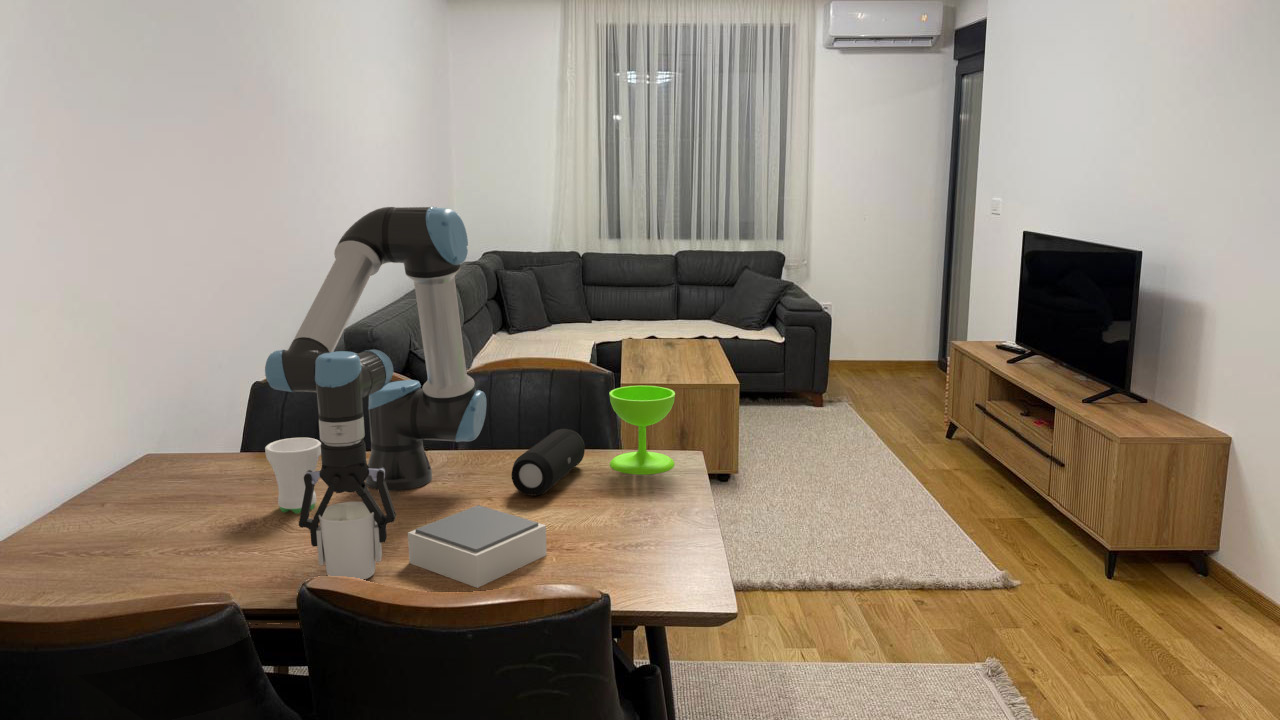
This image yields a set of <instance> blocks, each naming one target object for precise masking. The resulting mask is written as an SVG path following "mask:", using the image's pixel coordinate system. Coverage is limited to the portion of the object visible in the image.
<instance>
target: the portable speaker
mask: <svg viewBox="0 0 1280 720" xmlns="http://www.w3.org/2000/svg"><path fill="white" fill-rule="evenodd" d="M585 447H586V445H585V442H584V440H583V437H582V436H581V435H580V433H578V432H576V431H575V430H572V429H568V428H560V429H556V430H554V431H552V432H551V433H549V435H547V436H545V437H543V439H541V440H540V441H539V442H537V443H536V444H535V445H533V446H532V447H530V448H528V450H526V451H525V452H523V453H522V454H521V455H519V456H518V457H517V458H516V460H515V461H514V463H513V466H512V469H511V481H512V483H513V486H514V487H515V488H516V489H517V491H519V492H520V493H522V494H524V495H526V496H540V495H543V494H545V493H547V492H548V491H549V490H550V489H551V488H553V486H554V485H556V484H557V483H558V482H559V481H560V480H561V479H563V477H565V476H566V475H567V474H568V473H570V472H571V471H572V470H573V469H574V468H575V467H576V466H578V465H579V464H580V463H581V462H582V461H583V459H584V457H585V451H586V449H585Z"/></svg>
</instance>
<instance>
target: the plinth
mask: <svg viewBox="0 0 1280 720" xmlns="http://www.w3.org/2000/svg"><path fill="white" fill-rule="evenodd" d="M407 543H408V544H407V545H408V564H411V565H413V566H416V567H420V568H422V569H425V570H428V571H430V572H433V573H436V574H439V575H440V576H444V577H447V578H449V579H453V580H455V581H457V582H461V583H463V584H466V585H468V586H471V587H474V588H476V589H478V588H481V587H483V586H484V585H487V584H488V583H491V582H493V581H495V580H497V579H499V578H501V577H504V576H506V575H508V574H510V573H512V572H514V571H516V570H518V568H519V569H521V568H523V567H524V566H525V567H526V566H527V565H529V564H532V563H533V562H535V561H538V560H540V559H541V558H544V557H546V556H547V551H548V550H547V525H546V524H543V523H539V522H538V521H537V522H536V521H534V520H530V519H527V518H523V517H520V516H518V515H517V516H516V515H513V514H510V513H507V512H503V511H501V510H500V511H499V510H497V509H493V508H491V507H487V506H482V505H480V504H478V505H475V506H472V507H470V508H468V509H467V508H466V509H465V510H462V511H458V512H456V513H455V514H451V515H449V516H446V517H444V518H441V519H439V520H436V521H433V522H430V523H428V524H425V525H423V526H420V527H417V528H415V529H413V530H411V531H408V532H407Z"/></svg>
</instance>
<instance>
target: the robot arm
mask: <svg viewBox="0 0 1280 720" xmlns="http://www.w3.org/2000/svg"><path fill="white" fill-rule="evenodd" d="M468 246H469V242H468V233H467V230H466V227H465V223H464V221H463V219H462V218H461V216H460V215H459V214H458V213H457V212H456V211H455V210H453V209H451V208H445V207H437V206H427V207H426V206H421V207H417V206H413V207H409V206H408V207H407V206H406V207H399V206H397V207H394V206H387V207H381V208H377V209H374V210H372V211H370V212H368V213H367V214H365V215H363V216H361V217H360V218H359V219H358V220H357V221H356V222H354V223H353V224H352V225H351V226H349V228H348V229H346V231H345V232H344V233H343V235H342V236H341V237H340V239H339V241H338V243H337V245H336V247H335V249H334V259H335V260H334V262H333V263H332V266H331V268H330V270H329V271H328V274H327V276H325V279H324V281H323V282H322V285H321V287H320V289H319V291H318V292H317V294H316V297H315V298H314V300H313V302H312V303H311V305H310V308H309V309H308V311H307V313H306V316H305V317H304V319H303V320H302V323H301V324H300V327H299V329H298V331H297V333H296V334H295V336H294V338H293V340H292V342H291V343H290V345H289V347H288V349H281V350H274V351H273V352H272V353H270V354H269V355H268V357H267V359H266V362H265V367H264V376H265V380H266V381H267V382H268V385H269V386H270V388H272V389H273V390H277V391H283V392H290V393H296V392H297V393H300V392H301V393H316V398H317V399H316V401H317V409H318V410H317V412H318V430H319V441H320V442H321V455H320V457H321V468H320V470H315V472H312V471H311V470H308V471H307V472H306V474H305V475H304V483H305V492H304V498H303V503H302V509H301V512H300V513H299V514H300V516H299V521H298V526H299V528H306V529H309V532H310V544H311V546H312V547H317V555H318V557H317V559H318V566H324V564H325V557H324V549H323V542H322V535H321V528H320V520H319V515H320V516H321V517H322V516H323V513H324V511H325V509H326V507H328V506H329V503H330V501H331V499H332V497H333V495H334V493H336V494H342V493H344V492H346V493H356V495H357V496H358V497H359V498H360V499H361V502H364V504H365V505H366V507H367V509H368V510H369V512H370V513H372V512H374V519H375V527H374V538H375V563H380V562H381V560H382V557H383V553H382V551H383V550H382V543H386V541H387V539H388V534H387V530H388V529H387V525H389V524H390V523H391V524H392V523H393V524H394V522H395V521H396V517H397V512H396V510H395V507H394V503H393V500H392V497H391V495H390V491H405V490H412V489H416V488H419V487H422V486H425V485H427V484H429V483H430V482H431V481H432V479H433V473H432V472H433V471H432V466H431V465H430V462H429V459H428V457H427V454H426V452H425V449H424V448H425V447H424V441H425V440H427V441H428V440H429V441H443V442H444V441H446V442H447V441H448V442H456V443H459V442H472V441H474V440H476V439H477V438H478V437H479V435H480V433H481V431H482V429H483V427H484V423H485V419H486V414H487V397H486V394H485V392H484V391H481V390H479V389H477V390H476V384H475V383H476V382H475V380H474V378H472V377H471V376H470V375H469V374H467V367H466V359H465V357H466V356H465V349H464V344H463V343H464V342H463V333H462V326H461V318H460V310H459V303H458V301H459V300H458V294H457V287H456V279H455V278H456V275H457V274H458V273H459V272H460V270H461V268H462V267H461V264H463V263H464V262H465V261H466V259H467V258H468V257H467V255H468V251H469V250H468V249H469V248H468ZM389 263H393V264H403V266H404V271H405V272H404V273H405V275H406V277H408V278H409V279H410V280H412V281H413V284H414V292H415V298H416V304H417V311H418V312H417V313H418V318H419V326H420V332H421V341H422V347H423V348H422V349H423V353H424V361H425V367H426V374H427V375H426V376H427V380H426V382H424V384H423V385H421V383H420V381H419V380H416V379H406V380H396V381H392V378H393V376H394V366H393V362H392V360H391V358H390V357H389V356H388V355H387V354H386V353H385V352H383V351H381V350H379V349H368V350H367V349H366V350H363V351H361V352H358V353H357V352H353V351H346V350H345V351H343V350H341V351H335V350H336V347H337V345H338V343H339V342H340V338H342V336H343V333H344V331H345V328H346V327H347V325H348V323H349V321H350V319H351V316H352V314H353V312H354V310H355V308H356V307H357V304H358V302H359V300H360V298H361V296H362V294H363V292H364V290H365V288H366V285H367V284H368V281H369V279H370V277H371V276H374V275H376V274H377V273H378V272H379V271H380V269H381V267H382V266H383V265H385V264H389ZM421 387H422V388H421ZM366 397H368V407H367V410H368V418H369V432H370V449H371V451H370V454H369V459H368V462H367V450H366V441H365V440H364V437H366V436H365V435H366V433H365V420H364V419H365V417H364V408H363V407H364V403H363V399H365V398H366ZM423 440H424V441H423ZM319 479H321V480H322V481H323V482H324V483H325V484H326V486H327V489H326V492H325V493H324V495H323V498H322V499H321V502H320V504H319V506H318V508H317V510H316V513H315V514H314V517H313V518H312V519H311V518H310V512H311V510H310V508H311V502H312V497H313V492H314V491H315V485H317V483H318V481H319ZM368 488H370V489H374V490H377V491H378V494H379V497H380V500H381V503H382V506H383V509H384V512H385V514H384V512H383V511H382V509H381V507H380V505H378V503H377V502H376V500H375V498H374V497H373V495H372V493H371V492H370V490H369V489H368Z"/></svg>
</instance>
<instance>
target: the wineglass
mask: <svg viewBox="0 0 1280 720" xmlns="http://www.w3.org/2000/svg"><path fill="white" fill-rule="evenodd" d="M608 395H609V401H610V404H611V407H612V409H613V411H614V412H615V414H616V415H617V416H618V417H619V418H620V419H621V420H622V421H623V422H626V423H627V424H629V425H633V426H637V428H638V430H637V431H638V432H637V433H638V449H637V451H630V452H623V453H621V454H619V455H617V456H614V457H613V458H612V459H611V460H610V462H609V466H610V468H611V469H612V470H614V471H616V472H620V473H622V474H628V475H636V476H637V475H640V476H642V475H643V476H644V475H647V476H648V475H657V474H661V473H665V472H667V471H670V470H672V469H674V467H675V466H676V465H675V461H674V460H673V459H672V458H671V457H670V456H668V455H666V454H663V453H660V452H654V451H648V450H647V427H648V426H651V425H655V424H657V423H659V422H661V421H662V420H663V419H665V417H667V416H668V414H669V412H671V411H672V408H673V406H674V403H675V397H676V391H674V390H673V389H671V388H667V387H662V386H656V385H629V386H628V385H627V386H621V387H617V388H614V389H612V390H610V391H609V394H608Z"/></svg>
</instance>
